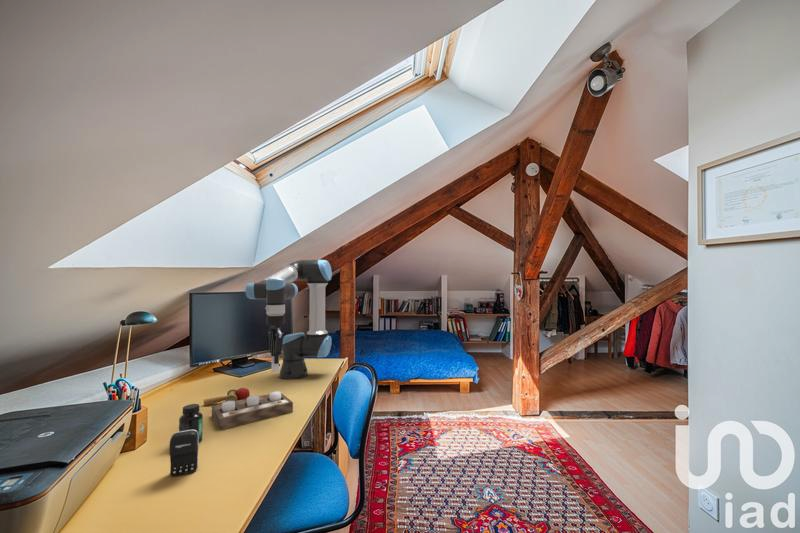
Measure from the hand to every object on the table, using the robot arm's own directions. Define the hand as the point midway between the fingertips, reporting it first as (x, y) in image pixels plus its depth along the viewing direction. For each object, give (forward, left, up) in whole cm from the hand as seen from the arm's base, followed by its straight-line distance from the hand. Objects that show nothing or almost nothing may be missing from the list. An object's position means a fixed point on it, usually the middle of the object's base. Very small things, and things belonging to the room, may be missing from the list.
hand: (275, 371), depth 146 cm
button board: (+9, 0, -16) cm, 18 cm away
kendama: (+14, -20, -16) cm, 30 cm away
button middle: (+9, 0, -14) cm, 16 cm away
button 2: (0, 0, -14) cm, 14 cm away
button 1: (+18, 0, -14) cm, 23 cm away
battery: (+36, +32, -16) cm, 51 cm away
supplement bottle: (+32, +12, -16) cm, 38 cm away
